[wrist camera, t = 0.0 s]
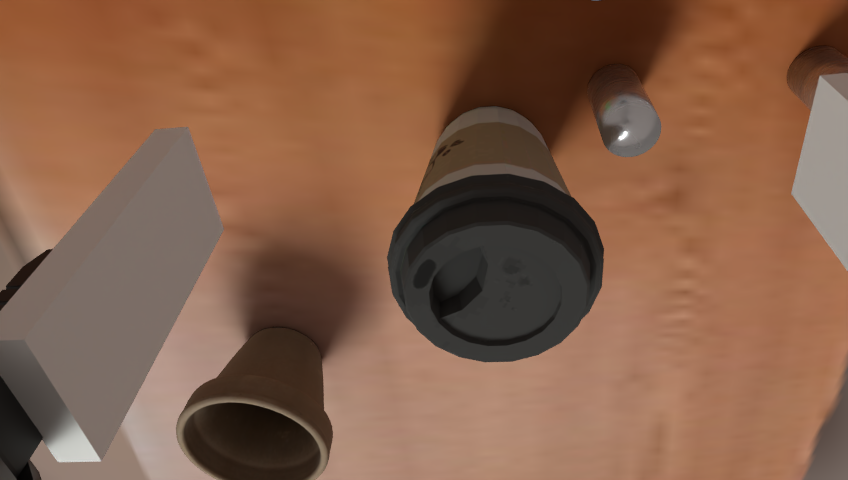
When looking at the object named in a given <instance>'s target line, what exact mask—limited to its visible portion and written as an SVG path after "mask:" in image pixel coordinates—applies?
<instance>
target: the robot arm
mask: <svg viewBox="0 0 848 480" xmlns="http://www.w3.org/2000/svg"><path fill="white" fill-rule="evenodd" d="M791 194H792V195H793V197H794V198H795V199H796V201H797V202H798V203H799V205H800V206H801V208H802V209H803V210H804V212H805V213H806V214H807V216H808V217H809V219H810V220H811V221H812V223H813V224H814V225H815V227H816V228H817V230H818V231H819V232H820V234H821V235H822V236H823V238H824V239H825V241H826V242H827V243H828V245H829V246H830V247H831V249H832V250H833V252H834V253H835V254H836V256H837V257H838V258H839V260H840V261H841V263H842V264H843V265H844V267H845V268H846V269H847V271H848V73H841V74H829V75H820V76H819V80H818V84H817V89H816V93H815V97H814V101H813V105H812V109H811V114H810V118H809V122H808V126H807V130H806V135H805V139H804V143H803V147H802V151H801V155H800V160H799V164H798V168H797V172H796V176H795V181H794V185H793V189H792V193H791ZM223 230H224V228H223V225H222V222H221V219H220V216H219V214H218V211H217V208H216V205H215V202H214V199H213V196H212V194H211V191H210V188H209V185H208V182H207V179H206V177H205V174H204V171H203V168H202V165H201V162H200V159H199V157H198V154H197V151H196V148H195V145H194V142H193V140H192V137H191V134H190V131H189V128H188V127H180V128H168V129H155V130H154V131H153V133H152V134H151V135H150V136H149V137H148V139H147V140H146V141H145V142H144V143H143V144H142V146H141V147H140V148H139V149H138V150H137V151H136V153H135V154H134V155H133V156H132V157H131V158H130V160H129V161H128V162H127V163H126V164H125V165H124V167H123V168H122V169H121V170H120V171H119V172H118V174H117V175H116V176H115V177H114V178H113V180H112V181H111V182H110V183H109V184H108V185H107V187H106V188H105V189H104V190H103V191H102V192H101V194H100V195H99V196H98V197H97V198H96V199H95V201H94V202H93V203H92V204H91V205H90V206H89V208H88V209H87V210H86V211H85V212H84V213H83V215H82V216H81V217H80V218H79V219H78V220H77V222H76V223H75V224H74V225H73V226H72V228H71V229H70V230H69V231H68V232H67V233H66V235H65V236H64V237H63V238H62V239H61V240H60V242H59V243H58V244H57V245H56V246H55V247H54V249H48V250H46V251H45V252H43V253H42V254H41V255H39V256H38V257H36V258H35V259H33V260H32V261H31V262H29V263H28V264H26V265H25V266H23V267H22V268H21V270H20V271H19V272H18V273H17V274H16V275H15V276H14V278H13V279H12V280H11V281H10V282H9V283H8V284H7V286H6V290H2V291H1V292H0V480H41V477H40V474H39V472H38V470H37V469H36V467H35V466H34V465H33V463H32V462H31V461H30V457H31V456H32V454H33V453H34V451H35V450H36V448H37V446H38V445H39V443H40V442H41V440H43V441H44V443H45V444H46V446H47V447H48V448H49V450H50V451H51V453H52V454H53V456H54V457H55V458H56V460H57V461H58V462H88V461H89V462H90V461H102V459H103V457H104V456H105V454H106V452H107V450H108V448H109V446H110V444H111V442H112V440H113V439H114V437H115V435H116V433H117V431H118V429H119V427H120V425H121V423H122V422H123V420H124V418H125V416H126V414H127V412H128V410H129V408H130V406H131V404H132V403H133V401H134V399H135V397H136V395H137V393H138V391H139V389H140V387H141V386H142V384H143V382H144V380H145V378H146V376H147V374H148V372H149V370H150V368H151V367H152V365H153V363H154V361H155V359H156V357H157V355H158V353H159V351H160V350H161V348H162V346H163V344H164V342H165V340H166V338H167V336H168V334H169V332H170V331H171V329H172V327H173V325H174V323H175V321H176V319H177V317H178V315H179V314H180V312H181V310H182V308H183V306H184V304H185V302H186V300H187V298H188V296H189V295H190V293H191V291H192V289H193V287H194V285H195V283H196V281H197V279H198V278H199V276H200V274H201V272H202V270H203V268H204V266H205V264H206V262H207V261H208V259H209V257H210V255H211V253H212V251H213V249H214V247H215V245H216V243H217V242H218V240H219V238H220V236H221V234H222V232H223Z"/></svg>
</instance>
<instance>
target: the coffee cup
mask: <svg viewBox="0 0 848 480" xmlns="http://www.w3.org/2000/svg"><path fill="white" fill-rule="evenodd" d="M603 254H604V248H603V245H602V242H601V239H600V236H599V233H598V230H597V227H596V224H595V222H594V221H593V219H592V218H591V217H590V216H589V215H588V214H587V213H586V211H585V210H584V209H583V208H582V207H581V206H580V205H579V203H578V202H577V201H576V200H575V199H574V198H573V197H571V195H570V193H569V191H568V189H567V187H566V185H565V183H564V181H563V178H562V176H561V174H560V172H559V170H558V168H557V166H556V164H555V162H554V160H553V158H552V156H551V154H550V152H549V149H548V147H547V145H546V143H545V141H544V139H543V137H542V135H541V134H540V132H539V131H538V130H537V129H536V128H535V126H534V125H533V124H532V123H531V122H530V121H529V120H527V119H526V118H525V117H523V116H522V115H520V114H518V113H517V112H515V111H513V110H510V109H506V108H502V107H498V106H491V107H478V108H476V109H473V110H470V111H468V112H465V113H463V114H462V115H460V116H459V117H458V118H456V119H455V120H454V121H452V122H451V123H450V125H448V126H447V127H446V129H445V130H444V132H443V133H442V135H441V136H440V138H439V139H438V141H437V143H436V146H435V149H434V151H433V154H432V157H431V159H430V162H429V165H428V167H427V170H426V173H425V175H424V178H423V181H422V183H421V186H420V189H419V191H418V194H417V197H416V199H415V202H414V205H412V206H411V207H410V208H409V210H408V211H407V213H406V214H405V215H404V217H403V218H402V220H401V221H400V223H399V224H398V225H397V227H396V228H395V230H394V231H393V235H392V240H391V244H390V248H389V252H388V256H387V259H388V265H389V267H388V269H389V275H390V281H391V288H392V293H393V296H394V298H395V299H396V301H397V303H398V304H399V306H400V308H401V309H402V311H403V313H404V314H405V316H406V318H407V319H409V320H410V321H411V322H412V323H413V324H414V325H415V327H416V328H417V330H418V331H419V332H420V333H421V334H422V335H424V336H425V337H426V338H427V339H428V340H429V341H431V342H432V343H433V344H434V345H435V346H437V347H439V348H441V349H443V350H445V351H447V352H450V353H452V354H454V355H456V356H458V357H462V358H467V359H472V360H477V361H482V362H510V361H516V360H520V359H524V358H528V357H532V356H536V355H539V354H541V353H542V352H544V351H546V350H548V349H550V348H552V347H554V346H556V345H557V344H559V343H561V342H562V341H563V340H564V339H565V338H566V337H567V336H568V335H569V334H570V333H571V332H572V331H573V330H574V329H575V328H576V327H577V326H578V325H579V323H580V321H581V319H582V318H583V317H584V316H585V315H586V314H587V313H588V312H589V311H590V309H591V307H592V305H593V303H594V301H595V299H596V297H597V295H598V293H599V291H600V289H601V286H602V275H603V261H604V259H603Z"/></svg>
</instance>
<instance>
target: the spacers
mask: <svg viewBox="0 0 848 480" xmlns="http://www.w3.org/2000/svg"><path fill="white" fill-rule="evenodd" d="M593 1H600V0H593ZM841 73H848V58H847V57H845V56H844V55H843V54H842V53H840V52H839V51H838V50H837V49H835V48H833V47H830V46H817V47H813V48H811V49H808V50H806V51H805V52H803V53H802V54H800V55H799V56H798V57H797V58H796V59H795V60H794V61H793V63H792V64H791V66H790V67H789V70H788V73H787V83H788V86H789V88H790V89H791V90H792V91H793V92H794V94H795V95H796V96H797V97H798V98H799V99H800V100H801V101H802V102H803V103H804V104H805V105H806V106H807V107H808V108H809V109H810V110H811V109H812V105H813V101H814V97H815V93H816V89H817V84H818V80H819V76H820V75H829V74H841ZM587 94H588V98H589V101H590V104H591V107H592V110H593V113H594V116H595V119H596V122H597V125H598V128H599V131H600V134H601V137H602V140H603V142H604V145H605V146H606V148H607V149H608V150H609V151H610V152H612V153H613V154H615V155H618V156H622V157H633V156H637V155H640V154H642V153H645V152H646V151H648V150H649V149H650V148H651V147H652V146H654V144H655V143H656V142H657V140H658V138H659V136H660V133H661V122H660V119H659V117H658V115H657V113H656V111H655V109H654V107H653V105H652V103H651V101H650V99H649V97H648V95H647V94H646V92H645V90H644V88H643V86H642V84H641V82H640V80H639V78H638V76H637V74H636V73H635V71H634V70H633V69H631V68H630V67H628V66H626V65H622V64H612V65H608V66H605V67H603V68H601V69H600V70H598V71H597V72H596V73H595V74H594V75H593V76H592V78H591V80H590V81H589V84H588V89H587Z"/></svg>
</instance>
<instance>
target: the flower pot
mask: <svg viewBox="0 0 848 480" xmlns="http://www.w3.org/2000/svg"><path fill="white" fill-rule="evenodd" d="M176 434H177V440H178V443H179V445H180V447H181V449H182V451H183V452H184V454H185V455H186V456H187V458H188V459H189V460H190V461H191V462H192V463H193V464H194V465H195V466H197V467H198V468H199V469H200V470H202V471H203V472H204V473H206V474H208V475H209V476H211V477H213V478H215V479H217V480H315V479H317V478H318V477H319V476H320V475H321V474H322V472H323V471H324V469H325V468H326V465H327V463H328V460H329V453H330V449H331V444H332V438H333V431H332V425H331V422H330V420H329V418H328V416H327V414H326V413H325V411H324V393H323V371H322V360H321V355H320V352H319V350H318V348H317V346H316V345H315V344H314V343H313V341H311V340H310V339H309V338H308V337H306V336H305V335H303V334H301V333H299V332H297V331H294V330H291V329H287V328H268V329H264V330H261V331H259V332H257V333H256V334H254V335H253V336H252V337H251V338H250V339H249V340H248V341H247V342H246V343H245V344H244V345H243V346H242V348H241V349H240V350H239V351H238V352H237V353H236V354H235V356H234V357H233V358H232V359H231V360H230V362H229V363H228V364H227V365H226V367H225V368H224V369H223V371H222V372H221V373H220V374H219V375H218V377H217V378H215V379H212V380H210V381H208V382H206V383H204V384H203V385H201V386H200V387H199V388H198V389H196V391H195V392H194V393H193V394H192V396H191V397H190V399H189V400H188V402H187V404H186V406H185V408H184V410H183V411H182V413H181V414H180V416H179V418H178V422H177V426H176Z"/></svg>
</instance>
